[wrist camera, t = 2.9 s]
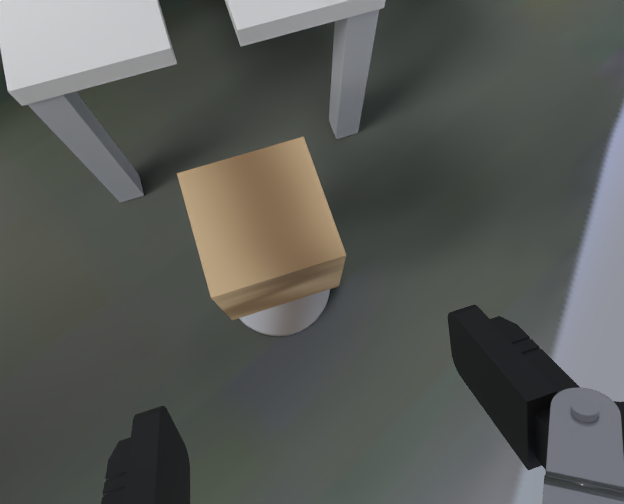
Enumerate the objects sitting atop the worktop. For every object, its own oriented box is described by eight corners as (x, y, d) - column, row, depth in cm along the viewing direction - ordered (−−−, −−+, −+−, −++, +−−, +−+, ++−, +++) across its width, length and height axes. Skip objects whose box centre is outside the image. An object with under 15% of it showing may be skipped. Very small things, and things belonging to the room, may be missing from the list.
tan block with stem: (244, 350, 29) (200, 315, 18) (217, 254, 31) (160, 165, 19) (343, 318, 30) (363, 263, 18) (311, 225, 31) (312, 121, 20)
